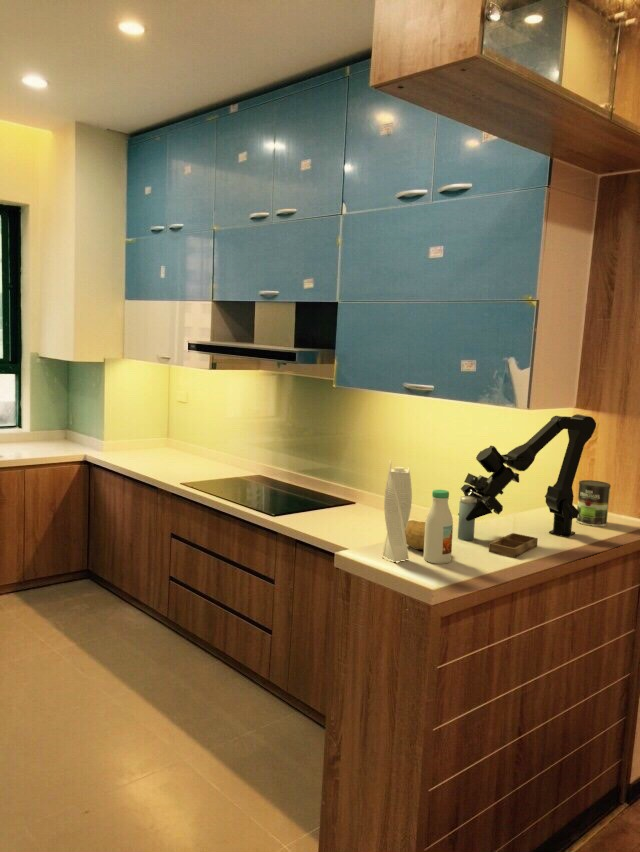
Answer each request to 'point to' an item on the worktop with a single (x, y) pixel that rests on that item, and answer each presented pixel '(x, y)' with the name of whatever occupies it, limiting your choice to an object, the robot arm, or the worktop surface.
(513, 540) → the caddy
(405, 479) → the skyscraper
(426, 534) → the milk bottle
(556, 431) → the robot arm
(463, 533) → the salt shaker
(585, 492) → the coffee can
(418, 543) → the potato
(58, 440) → the worktop surface
